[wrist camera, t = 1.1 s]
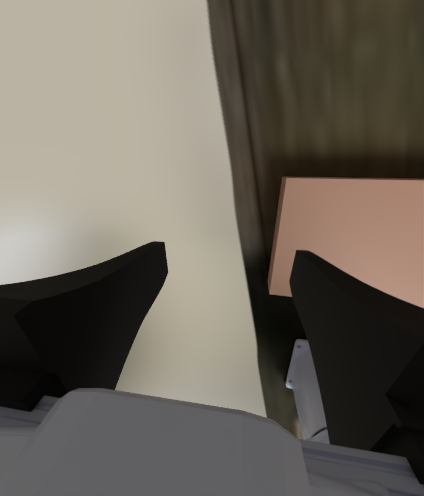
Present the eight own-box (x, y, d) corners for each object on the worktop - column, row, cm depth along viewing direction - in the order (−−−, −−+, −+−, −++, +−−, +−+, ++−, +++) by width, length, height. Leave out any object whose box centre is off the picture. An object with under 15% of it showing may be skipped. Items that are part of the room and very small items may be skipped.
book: (406, 293, 22) (429, 312, 19) (267, 279, 24) (269, 294, 21) (461, 179, 17) (502, 181, 14) (281, 176, 19) (286, 178, 17)
